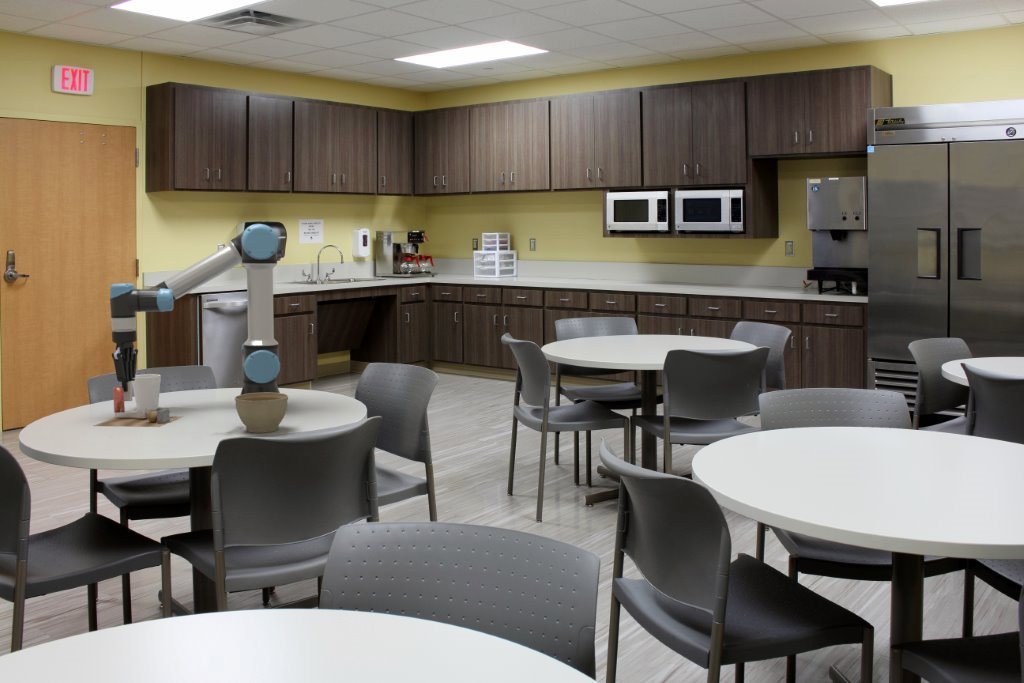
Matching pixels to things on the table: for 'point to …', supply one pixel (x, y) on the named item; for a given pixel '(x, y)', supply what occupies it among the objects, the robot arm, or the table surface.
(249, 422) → the planter bowl
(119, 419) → the board
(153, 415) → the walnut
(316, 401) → the table surface
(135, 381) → the foam cup
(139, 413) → the lever
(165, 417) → the two-tone textured tile
